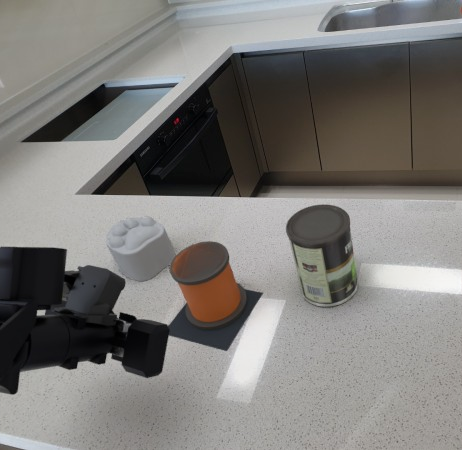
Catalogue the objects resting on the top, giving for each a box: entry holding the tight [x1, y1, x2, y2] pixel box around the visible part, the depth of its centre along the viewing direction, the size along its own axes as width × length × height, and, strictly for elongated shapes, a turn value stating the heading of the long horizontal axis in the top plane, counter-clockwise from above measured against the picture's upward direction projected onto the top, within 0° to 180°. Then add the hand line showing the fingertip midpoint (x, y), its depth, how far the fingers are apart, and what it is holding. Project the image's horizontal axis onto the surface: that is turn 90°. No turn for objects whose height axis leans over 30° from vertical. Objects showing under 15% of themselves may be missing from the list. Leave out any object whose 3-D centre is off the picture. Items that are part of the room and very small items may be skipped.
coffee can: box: [285, 204, 359, 308], centre depth 77 cm, size 10×10×14 cm
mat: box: [168, 288, 264, 351], centre depth 81 cm, size 13×13×1 cm
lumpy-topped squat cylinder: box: [105, 215, 177, 282], centre depth 94 cm, size 10×13×9 cm
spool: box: [169, 240, 248, 331], centre depth 78 cm, size 11×11×11 cm
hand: (148, 329), depth 66 cm, fingers closed
